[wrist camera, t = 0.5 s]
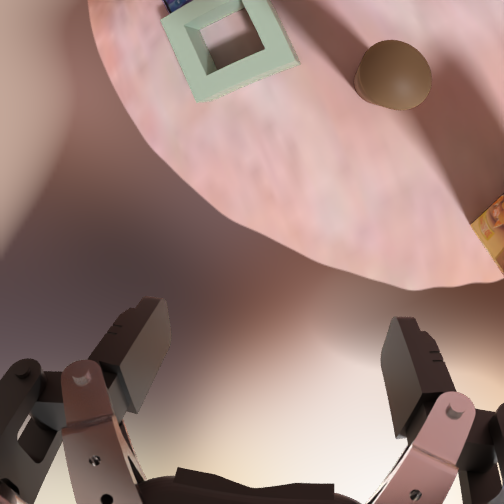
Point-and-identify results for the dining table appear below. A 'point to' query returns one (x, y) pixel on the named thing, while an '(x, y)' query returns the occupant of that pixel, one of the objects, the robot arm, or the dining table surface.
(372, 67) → the dowel
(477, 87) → the dining table surface
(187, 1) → the smartphone
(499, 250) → the candy box
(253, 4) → the square frame
